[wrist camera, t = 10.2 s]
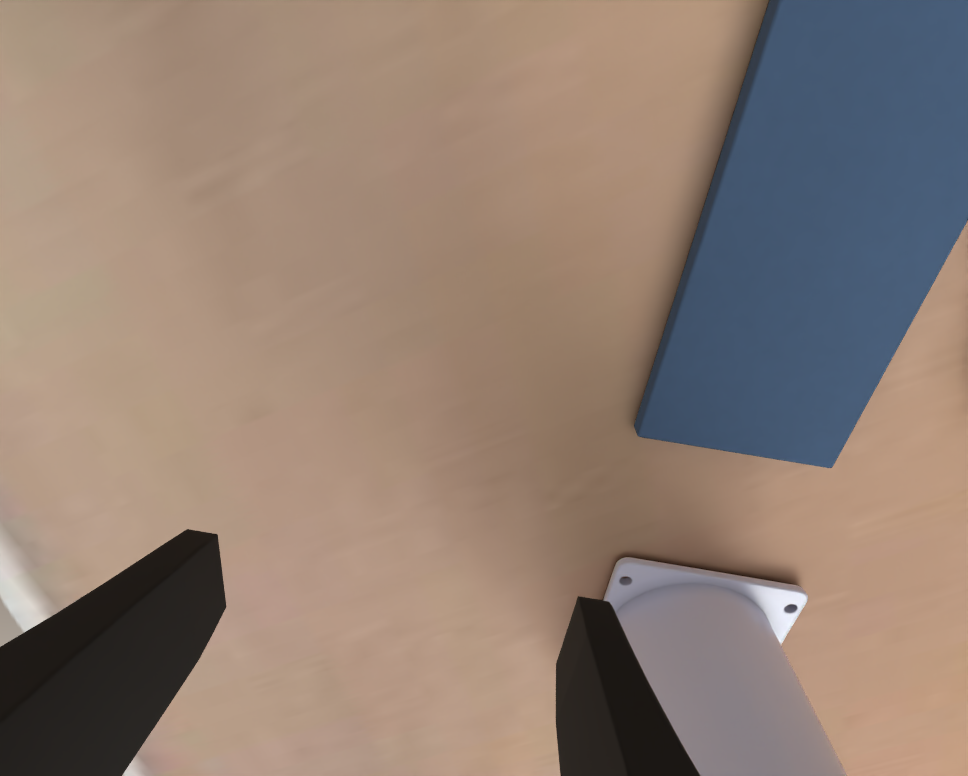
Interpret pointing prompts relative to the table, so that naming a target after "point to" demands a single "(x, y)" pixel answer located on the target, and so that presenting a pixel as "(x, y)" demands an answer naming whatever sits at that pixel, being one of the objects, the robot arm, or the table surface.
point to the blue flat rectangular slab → (817, 228)
